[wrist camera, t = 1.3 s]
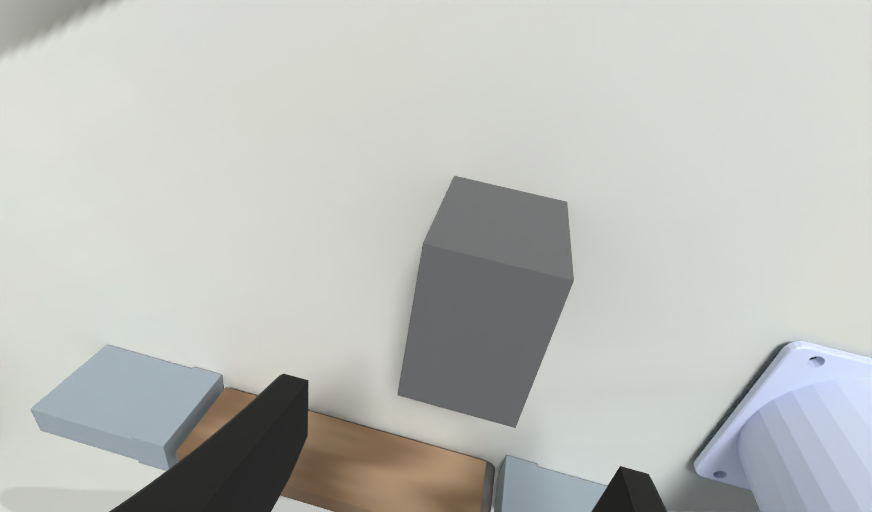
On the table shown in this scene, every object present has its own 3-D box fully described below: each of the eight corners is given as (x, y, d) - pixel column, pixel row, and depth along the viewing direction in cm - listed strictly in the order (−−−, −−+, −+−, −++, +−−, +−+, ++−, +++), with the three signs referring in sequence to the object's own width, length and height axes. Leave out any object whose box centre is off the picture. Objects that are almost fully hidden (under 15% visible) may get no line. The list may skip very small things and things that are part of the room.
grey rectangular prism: (567, 200, 16) (573, 280, 12) (522, 329, 19) (515, 427, 15) (454, 174, 16) (423, 243, 12) (429, 305, 20) (397, 395, 15)
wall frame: (660, 498, 23) (682, 602, 19) (644, 519, 24) (662, 622, 20) (106, 341, 25) (29, 406, 22) (113, 367, 26) (42, 432, 23)
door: (496, 464, 23) (488, 545, 20) (492, 475, 24) (483, 556, 21) (226, 387, 25) (175, 451, 21) (227, 399, 25) (178, 464, 22)
